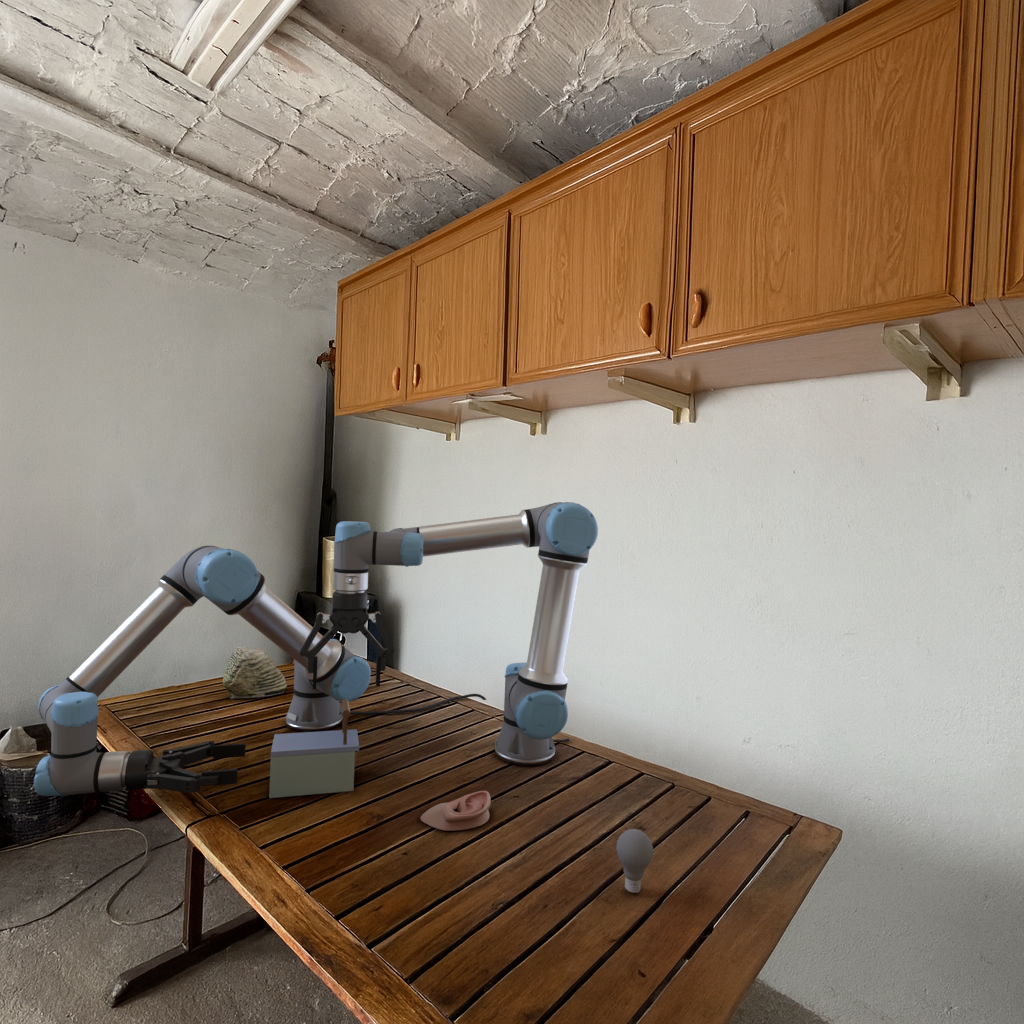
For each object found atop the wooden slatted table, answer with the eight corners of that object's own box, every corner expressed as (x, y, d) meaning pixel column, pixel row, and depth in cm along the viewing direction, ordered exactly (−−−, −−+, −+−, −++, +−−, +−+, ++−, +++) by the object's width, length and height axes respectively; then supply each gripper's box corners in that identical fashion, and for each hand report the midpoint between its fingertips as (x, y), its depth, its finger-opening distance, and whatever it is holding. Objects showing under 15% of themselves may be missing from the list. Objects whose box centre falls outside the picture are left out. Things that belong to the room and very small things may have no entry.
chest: (351, 771, 147) (352, 734, 147) (353, 791, 137) (355, 751, 137) (272, 777, 142) (274, 739, 142) (269, 798, 132) (270, 757, 132)
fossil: (218, 695, 195) (220, 647, 195) (278, 685, 208) (279, 640, 207) (228, 703, 189) (230, 653, 188) (289, 692, 201) (290, 645, 201)
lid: (356, 734, 147) (358, 696, 147) (359, 751, 137) (360, 711, 137) (274, 739, 142) (275, 700, 141) (270, 757, 132) (272, 715, 132)
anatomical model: (415, 806, 123) (434, 781, 134) (414, 826, 123) (433, 799, 134) (481, 816, 120) (495, 789, 132) (480, 836, 120) (494, 808, 132)
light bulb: (610, 879, 108) (613, 822, 108) (644, 879, 109) (647, 822, 109) (619, 902, 102) (622, 840, 102) (655, 901, 103) (658, 840, 103)
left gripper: (144, 763, 141) (247, 756, 147) (107, 819, 117) (232, 807, 123) (145, 729, 140) (248, 724, 146) (109, 778, 117) (233, 769, 123)
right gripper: (289, 593, 133) (286, 693, 134) (408, 593, 140) (405, 688, 141) (291, 588, 140) (288, 683, 141) (404, 588, 148) (401, 679, 148)
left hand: (241, 762), depth 135 cm, fingers open, 13 cm apart
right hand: (346, 686), depth 141 cm, fingers open, 13 cm apart
